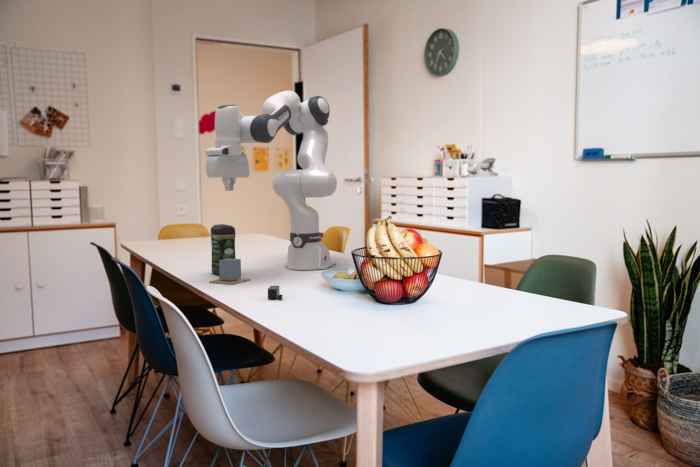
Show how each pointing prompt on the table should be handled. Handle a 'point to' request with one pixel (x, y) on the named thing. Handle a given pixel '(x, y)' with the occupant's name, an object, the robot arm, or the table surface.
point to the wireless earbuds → (274, 292)
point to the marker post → (230, 281)
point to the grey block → (230, 269)
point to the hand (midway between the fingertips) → (229, 190)
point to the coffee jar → (222, 244)
